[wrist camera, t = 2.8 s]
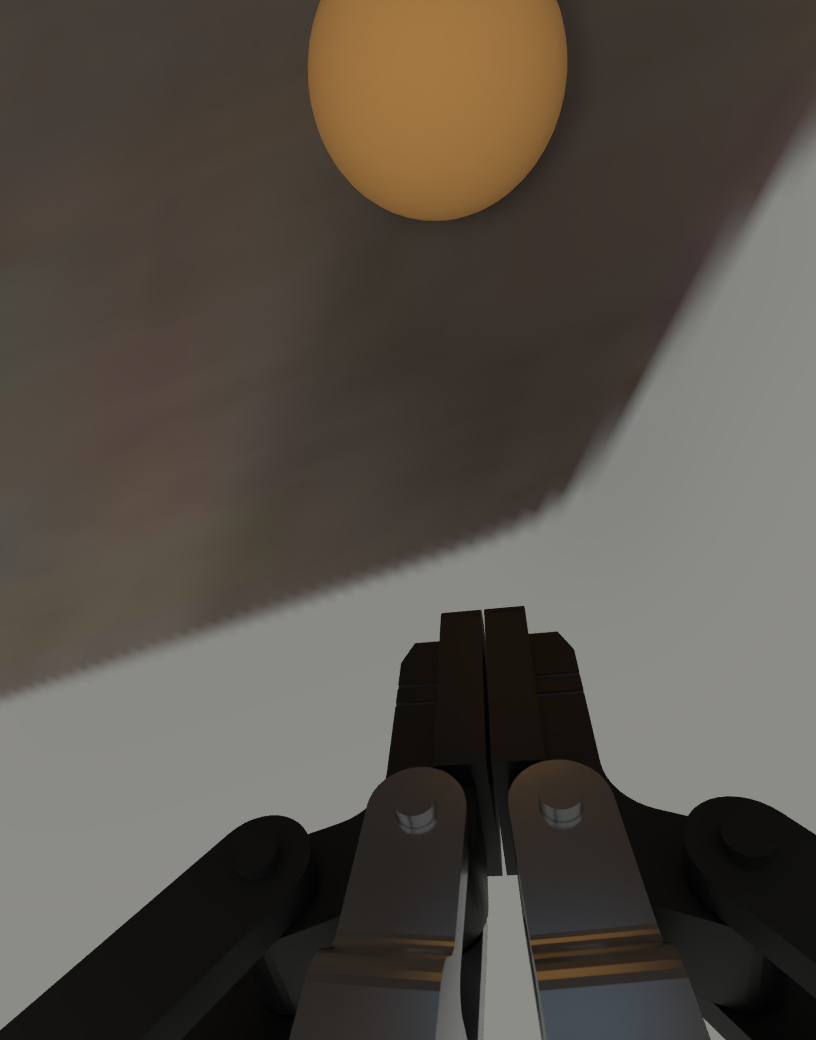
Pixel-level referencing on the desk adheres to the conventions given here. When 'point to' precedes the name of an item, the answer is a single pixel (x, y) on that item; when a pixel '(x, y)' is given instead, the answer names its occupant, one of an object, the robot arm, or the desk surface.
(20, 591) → the desk surface
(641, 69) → the desk surface
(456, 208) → the ball
